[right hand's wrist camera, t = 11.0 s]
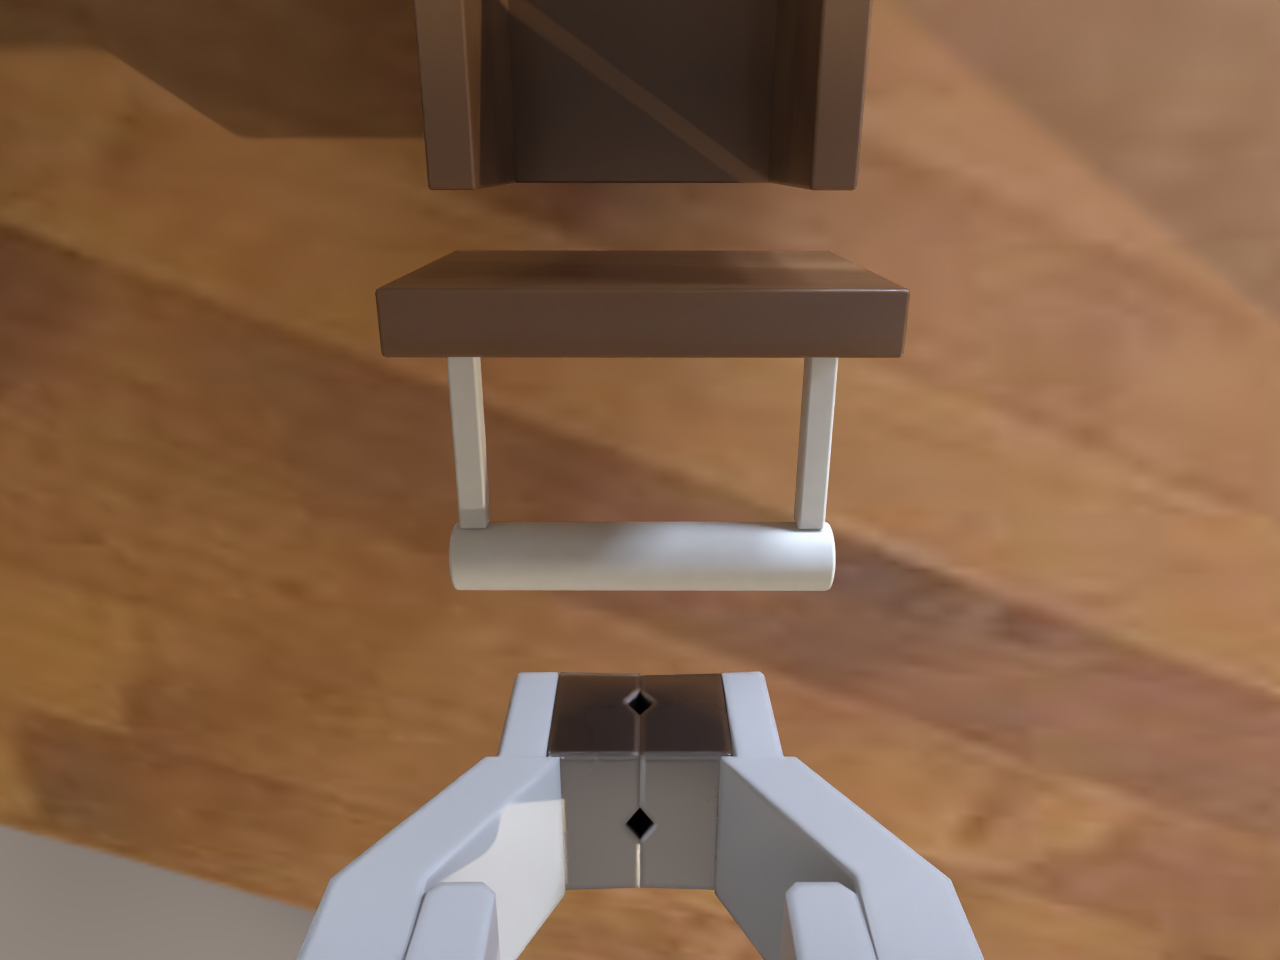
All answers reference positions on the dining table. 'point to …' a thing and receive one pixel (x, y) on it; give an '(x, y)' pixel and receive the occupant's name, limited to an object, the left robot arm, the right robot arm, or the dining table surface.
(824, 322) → the drawer
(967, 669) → the dining table surface
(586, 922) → the dining table surface
